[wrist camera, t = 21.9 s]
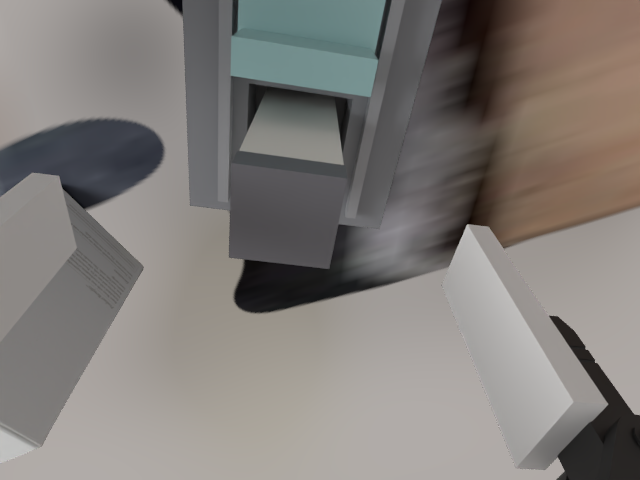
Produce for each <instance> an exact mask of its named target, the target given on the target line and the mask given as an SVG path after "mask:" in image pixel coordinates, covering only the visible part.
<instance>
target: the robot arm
mask: <svg viewBox="0 0 640 480" xmlns="http://www.w3.org/2000/svg"><path fill="white" fill-rule="evenodd" d="M76 249H77V246H76V242H75V238H74V234H73V230H72V226H71V222H70V218H69V214H68V210H67V206H66V202H65V198H64V194H63V190H62V186H61V182H60V178H59V176H55V175H47V174H39V173H31V174H30V175H29V176H28V177H26V178H25V179H24V180H22V181H21V182H20V183H18V184H17V185H16V186H14V187H13V188H12V189H10V190H9V191H8V192H6V193H5V194H4V195H3V196H1V197H0V342H1V341H2V339H3V338H4V337H5V336H6V335H7V333H8V332H9V331H10V330H11V328H12V327H13V326H14V325H15V324H16V322H17V321H18V320H19V319H20V317H21V316H22V315H23V314H24V312H25V311H26V310H27V309H28V308H29V306H30V305H31V304H32V303H33V301H34V300H35V299H36V298H37V297H38V295H39V294H40V293H41V292H42V290H43V289H44V288H45V287H46V285H47V284H48V283H49V282H50V281H51V279H52V278H53V277H54V276H55V274H56V273H57V272H58V271H59V270H60V268H61V267H62V266H63V265H64V263H65V262H66V261H67V260H68V258H69V257H70V256H71V255H72V254H73V252H74V251H75V250H76ZM442 288H443V290H444V293H445V295H446V298H447V300H448V303H449V305H450V308H451V310H452V313H453V315H454V318H455V320H456V322H457V325H458V327H459V330H460V332H461V335H462V337H463V339H464V342H465V345H466V347H467V349H468V352H469V354H470V357H471V359H472V362H473V364H474V367H475V369H476V371H477V374H478V376H479V379H480V382H481V384H482V386H483V389H484V391H485V394H486V396H487V399H488V401H489V404H490V406H491V409H492V411H493V413H494V416H495V418H496V421H497V423H498V426H499V428H500V431H501V433H502V436H503V438H504V441H505V443H506V446H507V448H508V450H509V453H510V455H511V457H512V460H513V463H514V465H515V467H516V468H520V469H539V470H545V469H547V468H548V467H549V466H550V464H551V463H552V462H553V461H554V460H555V459H556V458H557V457H558V458H559V460H560V462H561V464H562V466H563V468H564V470H565V472H564V473H563V474H562V475H561V476H560V477H559V478H558V479H557V480H640V415H634V413H633V412H632V411H631V410H630V408H629V407H628V406H627V404H626V403H625V401H624V400H623V398H622V397H621V396H620V394H619V393H618V391H617V390H616V389H615V387H614V386H613V384H612V383H611V382H610V380H609V379H608V378H607V376H606V375H605V373H604V372H603V371H602V369H601V368H600V366H599V365H598V364H597V363H595V359H594V358H593V357H592V355H591V354H590V352H589V351H588V350H586V349H585V345H584V344H583V342H582V341H581V340H580V338H579V337H578V335H577V334H576V333H575V331H574V330H573V329H571V328H570V327H569V326H568V325H567V324H566V323H564V322H563V321H562V320H561V319H560V318H559V317H557V316H548V314H547V313H546V311H545V310H544V308H543V307H542V305H541V304H540V302H539V301H538V299H537V298H536V296H535V295H534V293H533V292H532V290H531V289H530V287H529V286H528V284H527V283H526V282H525V280H524V279H523V277H522V276H521V274H520V273H519V271H518V270H517V268H516V267H515V265H514V264H513V262H512V261H511V260H510V258H509V256H508V255H507V253H506V252H505V250H504V249H503V247H502V246H501V244H500V243H499V241H498V240H497V238H496V237H495V235H494V234H493V233H492V231H491V230H490V228H489V227H486V226H477V225H469V224H467V226H466V229H465V231H464V233H463V236H462V238H461V240H460V243H459V245H458V247H457V250H456V252H455V254H454V257H453V259H452V261H451V264H450V266H449V268H448V271H447V273H446V276H445V278H444V280H443V282H442Z"/></svg>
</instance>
